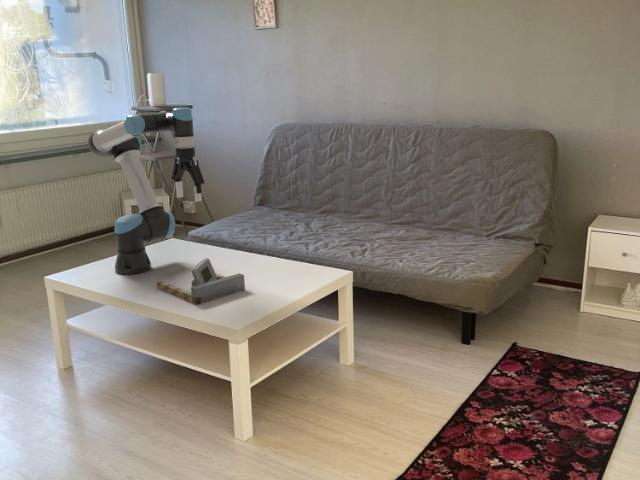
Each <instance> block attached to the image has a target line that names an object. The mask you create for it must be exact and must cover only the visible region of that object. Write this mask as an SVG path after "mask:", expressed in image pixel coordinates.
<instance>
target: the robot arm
mask: <svg viewBox="0 0 640 480" xmlns="http://www.w3.org/2000/svg"><path fill="white" fill-rule="evenodd" d="M192 112H193V111H192V109H191V108H190V107H175V108H172V112H167V111H162V112H158V113H143V114H135V113H134V114H132V115H127V116H126V117H125V119H124V121H121V122H118V123H117V124H114V125H113V126H111V127H108V128H106V129H97V130H95V131H93V132H92V133H90V135H89V136H88V139H87V145H88V146H87V147H88V148H89V150H90V151H91V152H92V153H93V154H94V155H96V156H99V157H105V158H106V157H113V158H114V161H115V162H116V163H118V164H120V166H121V169H122V172H123V174H124V176H125V178H126V181H127V183H128V186H129V188H130V190H131V193H132V195H133V198H134V200H135V202H136V204H137V208H138V210H139V213H131V214H126V215H122V216H121V217H118V218H117V219H116V220H115V221H114V234H115V242H116V250H117V255H116V258H115V259H116V260H115V264H114V271H115V273H116V274H119V275H136V274H142V273H145V272H147V271H150V270H151V269H152V262H151V260H150V258H149V255H148V252H147V251H146V244H147V243H151V242H155V241H156V242H157V241H159V240H164V239H167V238H170V237H171V236H173V234H174V233H175V228H176V221H175V216H174V215H173V213H172V212H171V211H167V210H165V208H164V206H163V205H162V204H159V202H158V200H157V199H158V198H157V197H156V194H155V193H154V190H153V187H152V185H151V184H150V183H151V182H150V181H149V178H148V176H147V173H146V171H145V169H144V166H143V163H142V161H141V159H140V155H141V150H142V149H143V144H142V138H141V136H142V135H146V134H153V133H154V134H155V133H156V134H157V133H164V132H165V133H166V132H173V133H174V134H173V135H174V144H175V147H176V148H175V157H176V158H174V159H173V160H174V164H173V169H172V175H171V180H172V181H174V182H175V190H176V191H175V192H176V193H175V194H176V198H178V199H179V198H183V197H184V188H183V187H184V186H183V179H182V178H183V176H184V174H185V172H187V173H189V175H190V177H191V179H192V181H193V183H194V184H193V189H194V190H193V191H194V202H196V203H198V202H202V201H203V199H202V185H203V184H205V180H204V177H203V174H202V171H201V169H200V166H199V160H198V159H194V157H195V156H196V150H195V147H194V146H195V136H194V123H193V120H194V119H193V113H192Z"/></svg>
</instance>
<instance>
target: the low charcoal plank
mask: <svg viewBox="0 0 640 480" xmlns="http://www.w3.org/2000/svg"><path fill="white" fill-rule="evenodd" d="M224 277H225V278H221V279H218V280H214V281H211V282H207V283H204V284H200V285H197V286H193V287H192V286H191V287H190V292H191V295H192V298H193V297H195V298H198V297H200V298H201V302H200V301H199V302H200V304H205V303H206V302H210V301H213V300H217V299H219V298H223V297H226V296H229V295H231V294H235V293H239V292H242V291H245V290H246V285H245V274H243V273H239V272H238V273H236V274H233V275H228V276H224ZM242 285H243V286H242ZM242 288H244V289H245V290H244V289H243V290H242ZM192 300H193V299H192ZM194 300H195V299H194ZM194 300H193V301H194ZM198 300H199V299H198ZM195 301H196V300H195ZM195 305H198V304H195Z"/></svg>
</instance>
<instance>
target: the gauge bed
mask: <svg viewBox="0 0 640 480" xmlns="http://www.w3.org/2000/svg"><path fill="white" fill-rule="evenodd" d="M216 276H217V278H218V279H221V278H225V277H226V276H224V275H221V274H218V273H216ZM242 286H243V285H242ZM156 288H157V289H158V290H161V291H163V292H166V293H168V294H169V295H170V294H171V295H174V296H175V297H178V298H179V299H183V300H185V301H187V302H189V303H192V304H195V305H196V304H197V305H200V304H201V303H200V302H201V298H200V297H198V298H195V297H193V298H192V295H191V291H189V290H185V289H184V288H180V287H178V286H175V285H173V284H170V283H168V282H166V281H163V280H158V281H156ZM243 289H244V288H242V291H245V290H246V288H245V289H244V290H243ZM192 299H193V300H194V299H195V300H196V301H195V300H194V301H193V300H192ZM198 299H199V300H198ZM199 301H200V302H199Z"/></svg>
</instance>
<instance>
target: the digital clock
mask: <svg viewBox="0 0 640 480" xmlns="http://www.w3.org/2000/svg"><path fill="white" fill-rule="evenodd" d="M190 272H191V274H192V277H193V279H192V280H191V287H193V286H197V285H200V284H204V283H207V282H211V281H214V280H218V278H217V276H216V274H217V273H216V272H215V269H214V267H213V265H212V263H211V261H210V259H209V258H208V257H205V258H203V259H202V260H201V261H200V262H198V263H196V265H194V267H193V268H192V269H191V271H190Z"/></svg>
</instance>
